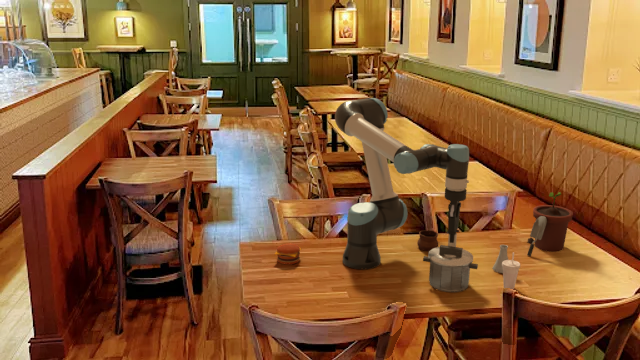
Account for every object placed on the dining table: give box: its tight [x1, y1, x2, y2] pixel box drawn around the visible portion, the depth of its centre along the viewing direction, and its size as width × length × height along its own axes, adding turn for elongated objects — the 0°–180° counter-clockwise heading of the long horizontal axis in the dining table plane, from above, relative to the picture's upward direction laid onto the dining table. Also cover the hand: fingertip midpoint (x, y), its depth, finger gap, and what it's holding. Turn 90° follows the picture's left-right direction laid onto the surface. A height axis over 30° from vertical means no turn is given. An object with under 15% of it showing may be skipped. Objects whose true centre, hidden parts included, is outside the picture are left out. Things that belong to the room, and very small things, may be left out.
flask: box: [492, 244, 509, 274], centre depth 241 cm, size 7×7×10 cm
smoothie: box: [502, 251, 521, 290], centre depth 225 cm, size 6×6×14 cm
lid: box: [427, 244, 474, 267], centre depth 227 cm, size 16×16×4 cm
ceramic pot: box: [416, 229, 441, 252], centre depth 262 cm, size 18×18×7 cm
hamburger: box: [274, 242, 302, 265], centre depth 250 cm, size 9×10×7 cm
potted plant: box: [526, 191, 574, 257], centre depth 260 cm, size 18×22×25 cm
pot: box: [422, 255, 479, 293], centre depth 229 cm, size 20×14×10 cm
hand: (451, 249), depth 228 cm, fingers closed
